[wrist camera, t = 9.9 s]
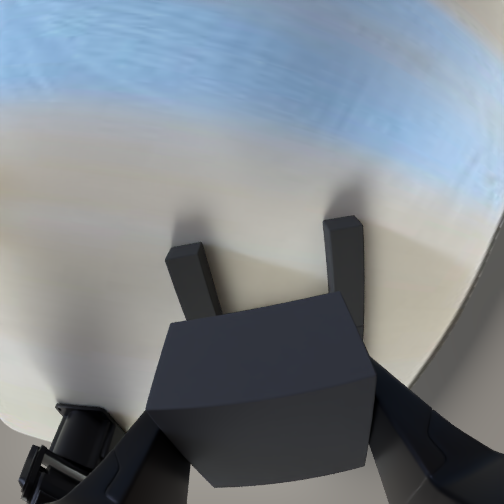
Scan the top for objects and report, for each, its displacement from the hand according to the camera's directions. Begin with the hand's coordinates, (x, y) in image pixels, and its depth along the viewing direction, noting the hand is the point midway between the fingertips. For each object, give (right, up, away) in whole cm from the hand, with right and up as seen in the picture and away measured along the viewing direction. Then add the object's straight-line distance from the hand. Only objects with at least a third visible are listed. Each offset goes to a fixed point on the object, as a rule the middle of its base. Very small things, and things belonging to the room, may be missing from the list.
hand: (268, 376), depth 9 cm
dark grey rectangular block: (0, 0, +1) cm, 1 cm away
